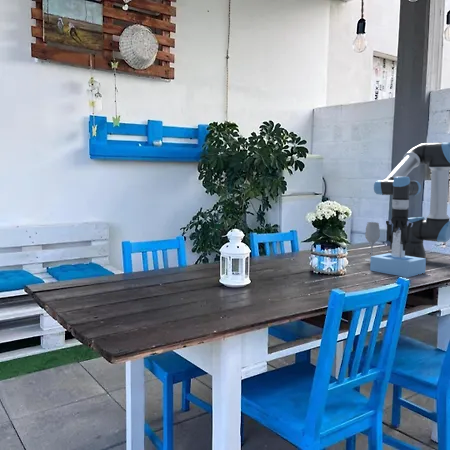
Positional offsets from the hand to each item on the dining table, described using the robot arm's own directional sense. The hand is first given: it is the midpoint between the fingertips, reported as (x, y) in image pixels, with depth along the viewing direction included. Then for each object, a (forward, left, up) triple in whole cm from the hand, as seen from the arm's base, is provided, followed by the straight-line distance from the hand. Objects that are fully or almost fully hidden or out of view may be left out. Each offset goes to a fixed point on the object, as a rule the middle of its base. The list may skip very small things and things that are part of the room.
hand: (398, 256), depth 229 cm
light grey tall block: (0, 0, 0) cm, 0 cm away
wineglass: (-16, -25, -8) cm, 31 cm away
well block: (0, 0, -8) cm, 8 cm away
